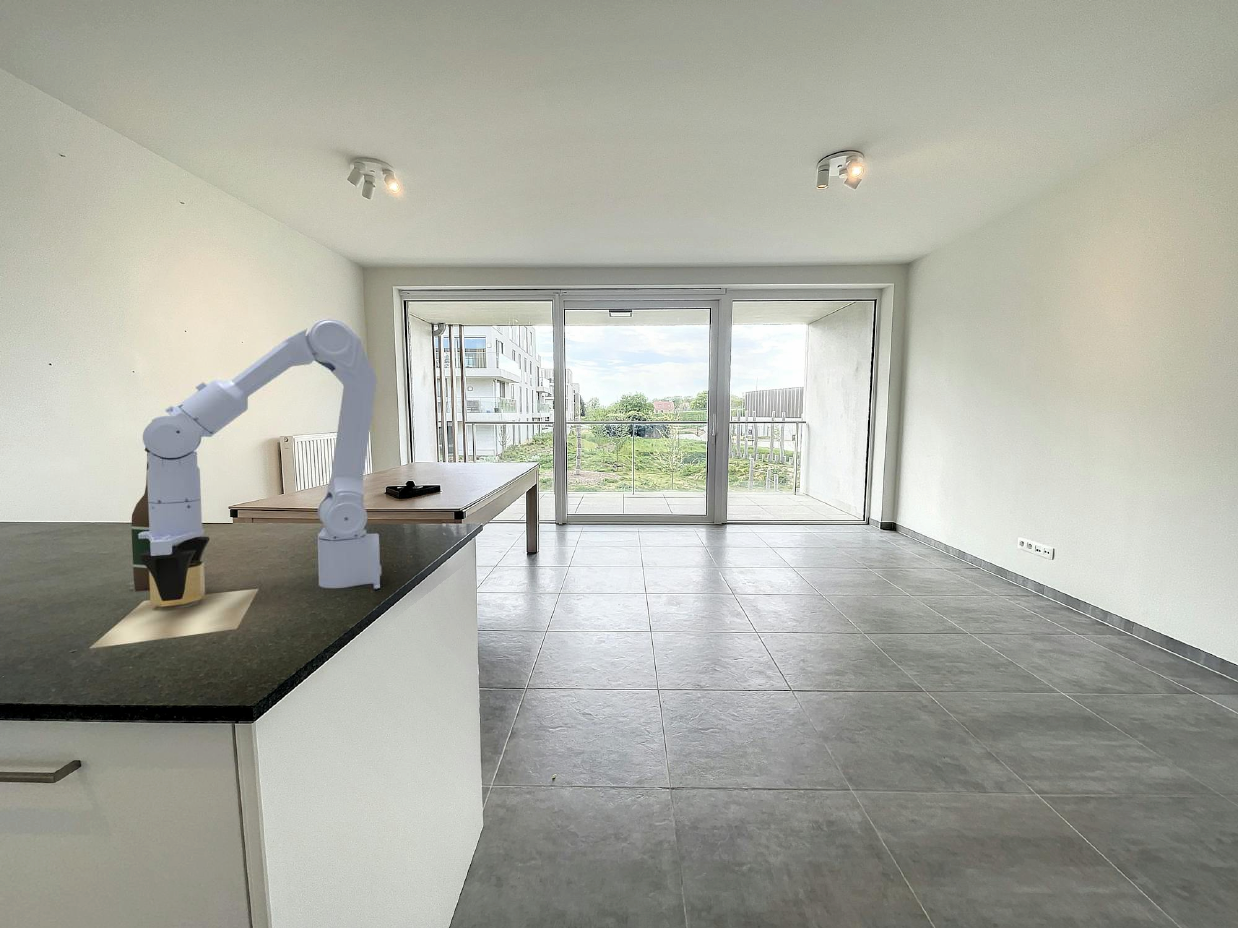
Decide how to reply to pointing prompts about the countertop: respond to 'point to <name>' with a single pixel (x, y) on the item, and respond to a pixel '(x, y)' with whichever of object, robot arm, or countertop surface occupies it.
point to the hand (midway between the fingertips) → (179, 593)
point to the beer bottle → (140, 540)
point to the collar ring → (192, 587)
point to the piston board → (180, 619)
